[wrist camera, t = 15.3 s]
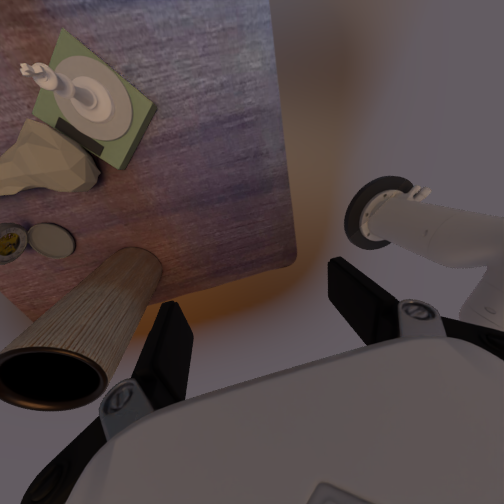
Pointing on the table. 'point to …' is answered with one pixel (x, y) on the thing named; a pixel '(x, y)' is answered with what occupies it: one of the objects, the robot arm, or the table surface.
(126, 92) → the scale
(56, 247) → the pocket watch
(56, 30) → the table surface
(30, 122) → the faceted club
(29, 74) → the chess piece
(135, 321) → the planter
